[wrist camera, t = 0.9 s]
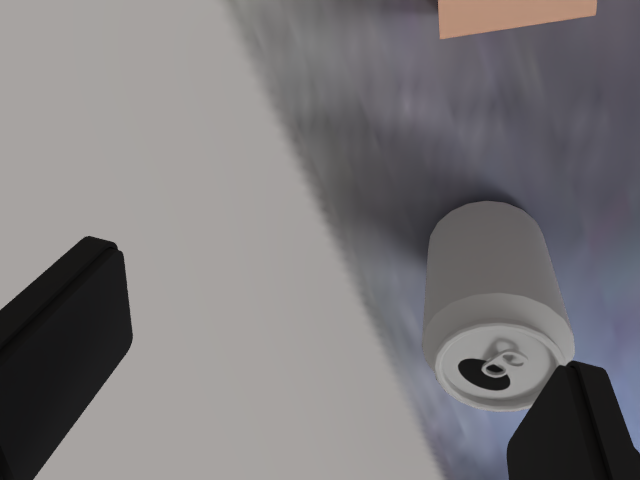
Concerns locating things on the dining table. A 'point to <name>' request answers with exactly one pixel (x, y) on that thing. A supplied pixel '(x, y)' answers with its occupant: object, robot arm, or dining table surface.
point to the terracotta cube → (506, 14)
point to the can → (493, 308)
